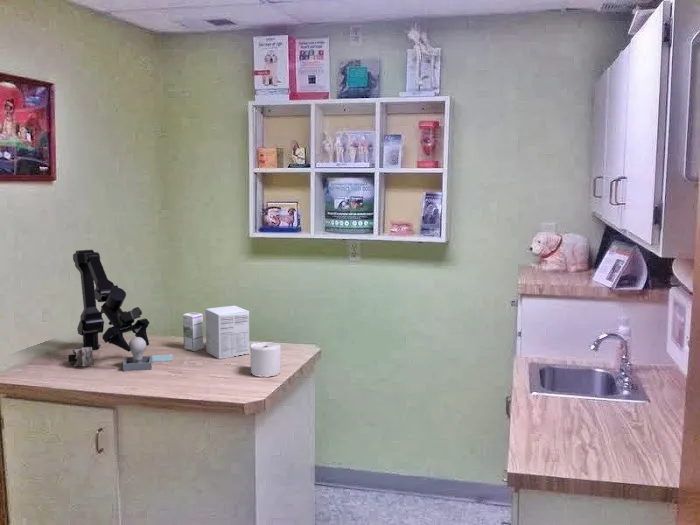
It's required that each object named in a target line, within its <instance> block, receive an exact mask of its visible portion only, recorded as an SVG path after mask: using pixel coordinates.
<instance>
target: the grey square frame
mask: <svg viewBox="0 0 700 525" xmlns="http://www.w3.org/2000/svg"><path fill="white" fill-rule="evenodd" d="M152 367H153V362H152V356H151V355H143V357H142V363H134V359H133V356H125V357H124V360H123V363H122V371H123V372H132V371H133V372H136V371H148V370H149V371H150V370H152ZM134 370H135V371H134Z"/></svg>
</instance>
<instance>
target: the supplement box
mask: <svg viewBox="0 0 700 525" xmlns="http://www.w3.org/2000/svg"><path fill="white" fill-rule="evenodd" d="M205 341H206V342H205V346H206V350H205V351H206V353H208V354H210V355H211V356H214V357H215V358H216V359H218V360H221V359H229V357H230V358H235V357H234V356H236V357H239V356H238V355H242V356H244V355H243V354H247V353H249V354H250V311H249V310H248V309H244V308H242V307H240V306H238V305H227V306H219V307H217V306H216V307H210V308H205Z"/></svg>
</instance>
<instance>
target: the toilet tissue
mask: <svg viewBox="0 0 700 525" xmlns="http://www.w3.org/2000/svg"><path fill="white" fill-rule="evenodd" d="M281 348H282V346H281V345H280V344H279V343H277V342H269V341H267V342H257V343H256V341H253V342H252V343H251V344H250V345H249V356H250V374H251V373H252V374H253V375H261V376H263V375H264V376H265V375H273V374H276V373H279V372H280V371H281V372H282V370H281V368H282V367H281V359H282V358H281V351H282V350H281ZM253 375H252V376H253Z"/></svg>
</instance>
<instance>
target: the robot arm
mask: <svg viewBox="0 0 700 525" xmlns="http://www.w3.org/2000/svg"><path fill="white" fill-rule="evenodd" d="M72 261H73V262H74V267H75V268H76V270H78V272H79V273H80V282H81V283H80V284H81V292H82V293H81V294H82V302H83V310H82V312H81V314H80V320H79V323H78V325H77V328H76V329H77V334H78V335H80V336H82V344H83V345H82V347H81V349H82V348H86V347H92V351H94V350H95V351H96V350H100V348H101V346H102V345H101V344H99V343H100V342H99V334H101V333H103V332H104V325H105V320H104V319H103V314H104V315H105V317H106V318H107V319H108V320H109V322H107V323H108V325H109V326H110V327H108V328H107V329H106V331H105V332H104V333H103V334H102V340H103V341H104V342H105V344H106V343H108V344H109V345H110V344H112V345H113V346H116V347H118V348H121V349H122V350H124V351H126V352H130V353H131V349H130V347H129V343H128V342H127V341H126V340H125V338H124V336H123V335H124V334H125V333H129V332H132V333H133V334H134V336H135V337H140V338H143V339H144V340H145V342H146V347H148V346H149V345H150V340H149V338H148V334H147V328H148V327H149V324H150V321H149V320H148V318H141V317H142V314H143V310H141V308H140V307H139V306H136V307H134V308H132V309H131V310H128V311H123V310H122V308H121V307H122V306H123V303H124V301H125V299H126V296H127V292H126V291H125V290H124V289H123V288H121V287H119V286H118V284H117V285H116V284H114V282H113V281H111V280H110V279H108V276H107V274H106V271H105V269H104V265H103V263H102V262H101V256H100V253H99V252H98V251H94V250H93V249H82V250H81V249H80V250H79V249H78V250H75V253H73V255H72ZM97 303H103V304H102V305H101V306H100V311H99V309H98V308H97ZM138 318H140V319H138ZM136 319H137V320H136ZM135 320H136V321H135Z"/></svg>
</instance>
